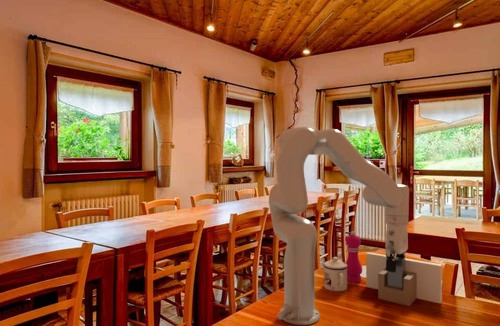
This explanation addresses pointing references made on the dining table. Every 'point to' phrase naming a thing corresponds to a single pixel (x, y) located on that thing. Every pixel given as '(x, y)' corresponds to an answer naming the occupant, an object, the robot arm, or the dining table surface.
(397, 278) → the blue-grey rectangular block
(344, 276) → the teacup with lid
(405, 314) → the dining table surface
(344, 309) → the dining table surface
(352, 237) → the pepper mill
